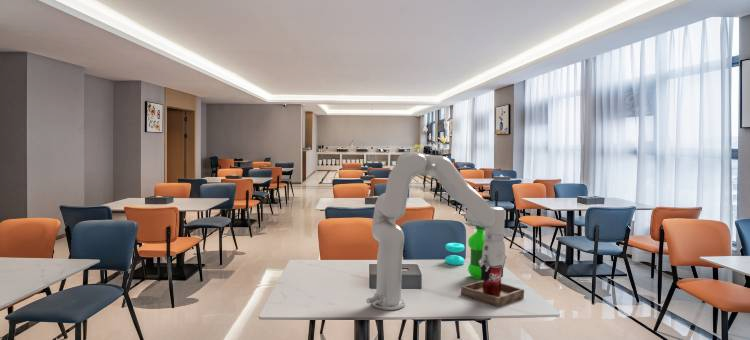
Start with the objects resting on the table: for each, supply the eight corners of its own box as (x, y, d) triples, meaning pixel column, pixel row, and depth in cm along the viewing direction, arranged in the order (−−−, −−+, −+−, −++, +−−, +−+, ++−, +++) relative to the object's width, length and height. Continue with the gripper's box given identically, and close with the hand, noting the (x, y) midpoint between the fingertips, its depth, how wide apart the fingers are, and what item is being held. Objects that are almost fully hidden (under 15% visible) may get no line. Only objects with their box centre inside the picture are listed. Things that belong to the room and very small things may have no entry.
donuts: (446, 241, 245) (465, 243, 243) (445, 260, 246) (464, 261, 243) (444, 245, 235) (464, 247, 233) (444, 264, 236) (463, 266, 234)
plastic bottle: (492, 276, 216) (494, 224, 215) (484, 282, 207) (486, 227, 206) (472, 273, 222) (474, 222, 220) (464, 278, 213) (465, 225, 211)
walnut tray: (497, 307, 176) (497, 298, 175) (460, 294, 189) (461, 286, 189) (523, 298, 187) (524, 289, 187) (487, 286, 201) (487, 278, 201)
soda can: (501, 297, 184) (502, 268, 183) (482, 296, 185) (483, 266, 185) (500, 291, 191) (501, 263, 190) (482, 290, 192) (483, 262, 192)
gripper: (488, 241, 178) (486, 284, 179) (514, 236, 189) (512, 277, 190) (473, 237, 184) (471, 279, 185) (498, 233, 195) (496, 273, 196)
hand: (491, 278), depth 188 cm, fingers open, 9 cm apart
